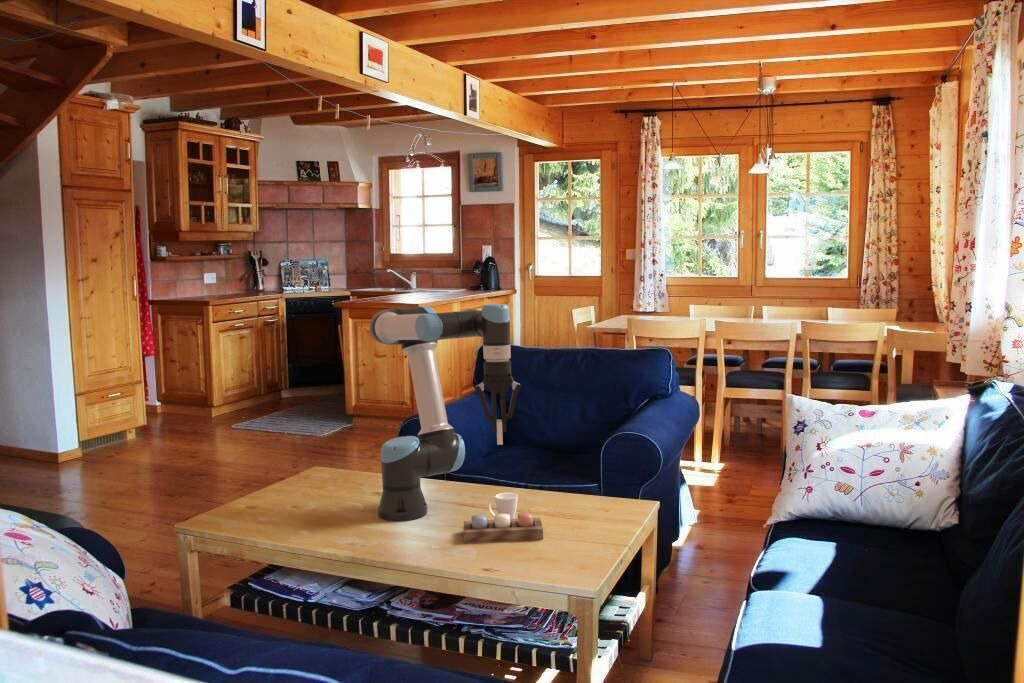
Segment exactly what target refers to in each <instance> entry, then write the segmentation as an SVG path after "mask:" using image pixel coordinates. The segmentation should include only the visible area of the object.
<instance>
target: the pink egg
mask: <svg viewBox="0 0 1024 683" xmlns="http://www.w3.org/2000/svg"><path fill="white" fill-rule="evenodd" d="M533 518H534V514H533V513H531V512H520V513H518V514H517V519H518V527H533Z"/></svg>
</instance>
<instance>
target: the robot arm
mask: <svg viewBox="0 0 1024 683" xmlns="http://www.w3.org/2000/svg"><path fill="white" fill-rule="evenodd" d="M368 328H369V333H370V335H371V337H372V338H373V340H375V341H376V342H377V343H379V344H382V345H385V346H386V345H387V346H398V345H400V346H401V350H402V353H403V354H406V355H407V357H408V363H409V368H410V373H411V379H412V386H413V389H414V396H415V400H416V401H415V402H416V408H417V413H418V418H419V424H420V428H421V429H420V430H419V432H418V433H417V436H415V435H405V436H398V437H394V438H391V439H388V440H387V441H386V442H384V443H383V444H382V445H381V448H380V461H381V462H380V463H381V480H382V491H381V492H382V493H381V497H380V500H379V505H378V507H377V516H378V517H379V518H380V519H382V520H384V521H389V522H390V521H391V522H401V521H402V522H406V521H412V520H417V519H420V518H422V517H423V518H424V516H426V515H427V514H428V504H427V502H426V499H425V496H424V493H423V491H422V486H421V478H426V477H432V476H436V475H442V474H449V473H451V472H455V471H457V470H459V469H460V468H461V467H462V465H463V463H464V461H465V457H466V447H465V442H464V439H463V437H462V436H461V435H460V434H458V433H456V432H455V429H454V427H453V426H452V425H451V424H449V423H448V416H447V411H446V405H445V401H444V395H443V390H442V385H441V379H440V375H439V369H438V368H439V367H438V364H437V362H438V361H437V358H436V352H435V350H436V349H437V347H438V345H439V343H438V341H441V340H453V339H462V338H463V339H464V338H465V339H466V338H475V337H479V338H482V340H483V341H482V345H483V346H482V350H483V359H484V360H485V361H484V362H483V374H484V375H483V378H482V381H481V383H479V384H476V385H475V391H476V392H477V393H478V395H479V398H480V402H481V405H482V409H483V412H484V416H485V419H486V420H489V421H491V422H492V423H491V424H492V432H493V433H496V442H497V443H496V444H497V446H499V445H501V446H502V445H503V444H504V441H503V439H504V437H503V435H504V434H503V433H506V432H507V422H508V420H510V419H512V418H513V416H514V411H515V406H516V403H517V402H516V401H517V397H518V393H519V392H520V391H521V387H522V385H521V383H518V382H516V381H514V377H513V376H512V361H511V360H510V359H511V355H512V354H511V317H510V309H509V305H508V304H505V303H487V304H484V305H482V307H481V310H480V309H475V308H473V309H466V310H462V311H461V310H459V311H458V310H457V311H450V312H448V311H447V312H437V311H436V310H435V309H434V308H433V307H430V306H419V305H417V306H412V307H411V306H407V307H399V308H398V307H396V308H388V309H387V308H386V309H383V310H380V311H377V313H375V314H374V315H373V316H372V318H371V320H370V323H369V327H368ZM485 388H486V389H487V390H488V392H490V393H491V414H490V411H489V407H488V403H487V400H486V399H487V398H486V395H485V393H484V390H485ZM510 388H511V389H512V393H511V398H510V403H509V408H508V412H507V406H506V404H507V403H506V401H507V400H506V393H507V392H508V390H509V389H510ZM497 394H500V412H501V419H498V417H497V416H498V414H497V413H498V412H497V409H498V408H497Z"/></svg>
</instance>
